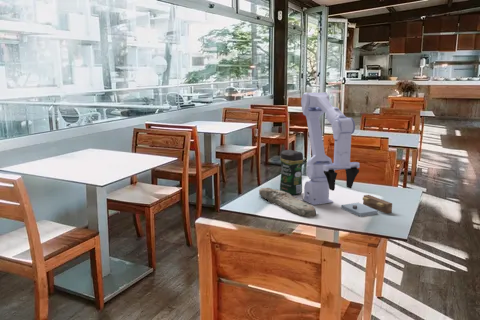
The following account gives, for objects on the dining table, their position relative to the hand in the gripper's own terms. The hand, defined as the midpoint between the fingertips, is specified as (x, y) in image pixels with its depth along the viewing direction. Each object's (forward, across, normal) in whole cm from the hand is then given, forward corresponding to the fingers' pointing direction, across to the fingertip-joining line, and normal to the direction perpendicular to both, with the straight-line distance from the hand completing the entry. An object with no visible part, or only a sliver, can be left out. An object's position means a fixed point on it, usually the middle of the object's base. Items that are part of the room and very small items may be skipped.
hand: (340, 188), depth 157 cm
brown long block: (+9, +17, 0) cm, 20 cm away
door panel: (+10, +9, 0) cm, 13 cm away
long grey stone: (+10, -12, +19) cm, 24 cm away
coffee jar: (+10, -1, +32) cm, 34 cm away
